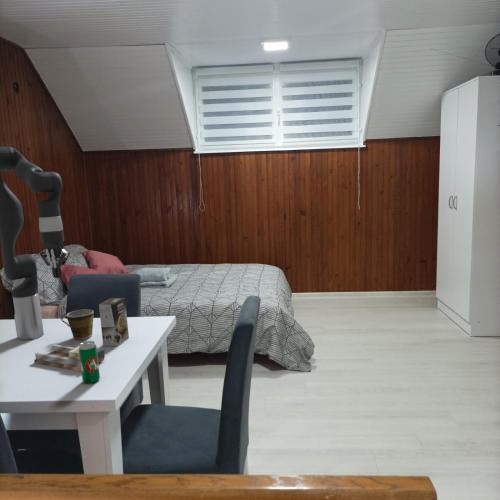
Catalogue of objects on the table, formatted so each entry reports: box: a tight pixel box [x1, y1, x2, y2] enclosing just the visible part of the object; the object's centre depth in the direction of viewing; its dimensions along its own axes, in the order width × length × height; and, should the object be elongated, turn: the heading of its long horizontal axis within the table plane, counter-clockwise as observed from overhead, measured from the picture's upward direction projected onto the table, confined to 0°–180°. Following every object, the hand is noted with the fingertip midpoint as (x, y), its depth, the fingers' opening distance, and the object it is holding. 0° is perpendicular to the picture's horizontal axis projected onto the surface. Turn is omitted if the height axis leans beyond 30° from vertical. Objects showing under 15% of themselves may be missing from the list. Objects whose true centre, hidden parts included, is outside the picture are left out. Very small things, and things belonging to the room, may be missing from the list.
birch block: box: [69, 346, 80, 360], centre depth 150 cm, size 6×6×4 cm
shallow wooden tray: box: [34, 344, 106, 372], centre depth 153 cm, size 23×10×4 cm, turn 65°
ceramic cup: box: [60, 308, 95, 341], centre depth 176 cm, size 13×10×10 cm
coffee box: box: [98, 297, 130, 347], centre depth 169 cm, size 9×6×16 cm
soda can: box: [78, 340, 101, 385], centre depth 136 cm, size 5×5×12 cm
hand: (57, 277), depth 160 cm, fingers closed
